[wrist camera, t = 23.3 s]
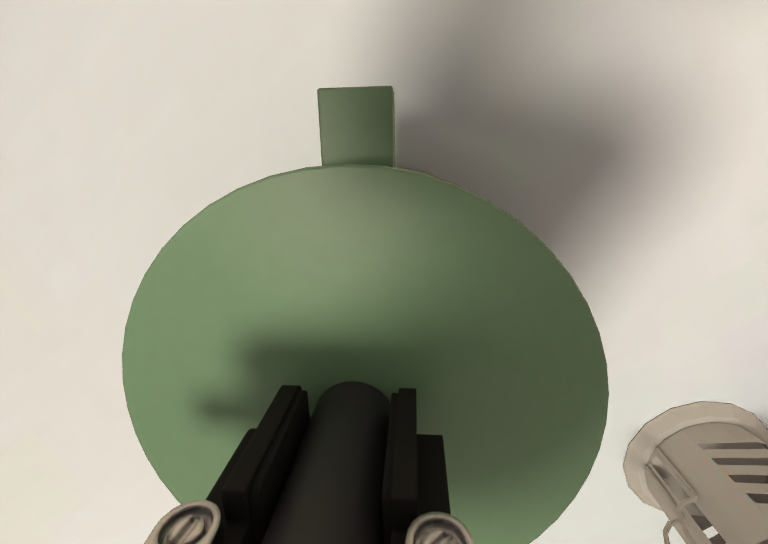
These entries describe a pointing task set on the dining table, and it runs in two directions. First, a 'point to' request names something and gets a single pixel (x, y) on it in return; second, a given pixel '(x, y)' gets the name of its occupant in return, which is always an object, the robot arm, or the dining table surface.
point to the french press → (704, 472)
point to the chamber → (357, 126)
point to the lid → (368, 350)
